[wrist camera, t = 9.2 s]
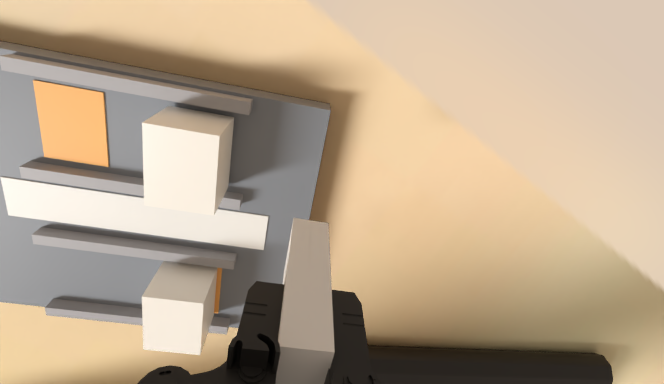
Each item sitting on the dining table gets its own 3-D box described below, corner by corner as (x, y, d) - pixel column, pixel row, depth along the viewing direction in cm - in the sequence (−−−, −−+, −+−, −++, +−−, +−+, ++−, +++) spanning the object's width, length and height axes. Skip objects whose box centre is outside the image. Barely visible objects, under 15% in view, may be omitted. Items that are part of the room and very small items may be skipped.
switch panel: (288, 316, 34) (285, 342, 31) (6, 283, 31) (-23, 309, 28) (329, 103, 25) (331, 114, 23) (-53, 30, 22) (-103, 33, 20)
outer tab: (228, 187, 25) (214, 215, 22) (168, 177, 25) (144, 205, 21) (234, 117, 23) (219, 135, 20) (169, 105, 23) (142, 122, 19)
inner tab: (213, 314, 30) (200, 355, 27) (164, 309, 30) (143, 349, 26) (217, 266, 28) (203, 303, 25) (164, 259, 28) (141, 296, 24)
